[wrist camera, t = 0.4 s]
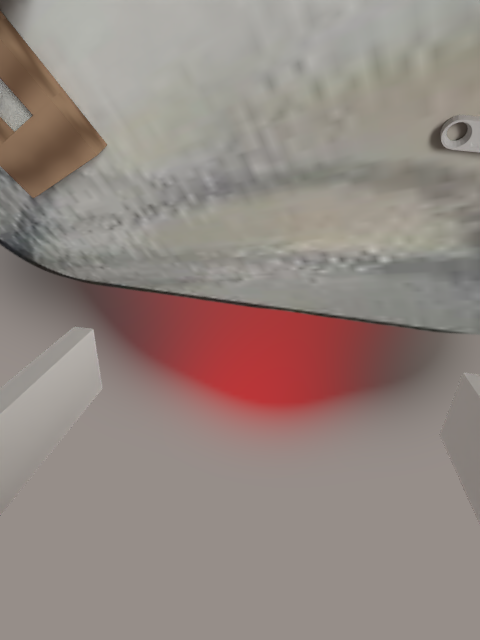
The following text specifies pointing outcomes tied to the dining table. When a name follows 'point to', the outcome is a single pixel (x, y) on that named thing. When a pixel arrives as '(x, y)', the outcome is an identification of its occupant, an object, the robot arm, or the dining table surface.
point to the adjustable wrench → (474, 140)
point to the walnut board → (40, 121)
